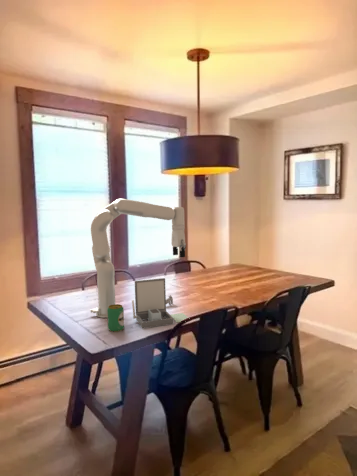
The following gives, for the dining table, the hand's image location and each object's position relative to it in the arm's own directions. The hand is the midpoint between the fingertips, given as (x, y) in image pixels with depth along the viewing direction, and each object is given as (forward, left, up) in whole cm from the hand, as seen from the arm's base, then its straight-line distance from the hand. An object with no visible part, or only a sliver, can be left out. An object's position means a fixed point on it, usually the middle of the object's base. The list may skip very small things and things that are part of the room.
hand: (178, 256), depth 217 cm
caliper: (-12, +1, -31) cm, 34 cm away
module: (-22, -22, -31) cm, 44 cm away
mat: (-7, -21, -31) cm, 38 cm away
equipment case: (-23, -22, -31) cm, 44 cm away
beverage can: (-43, -25, -31) cm, 59 cm away
